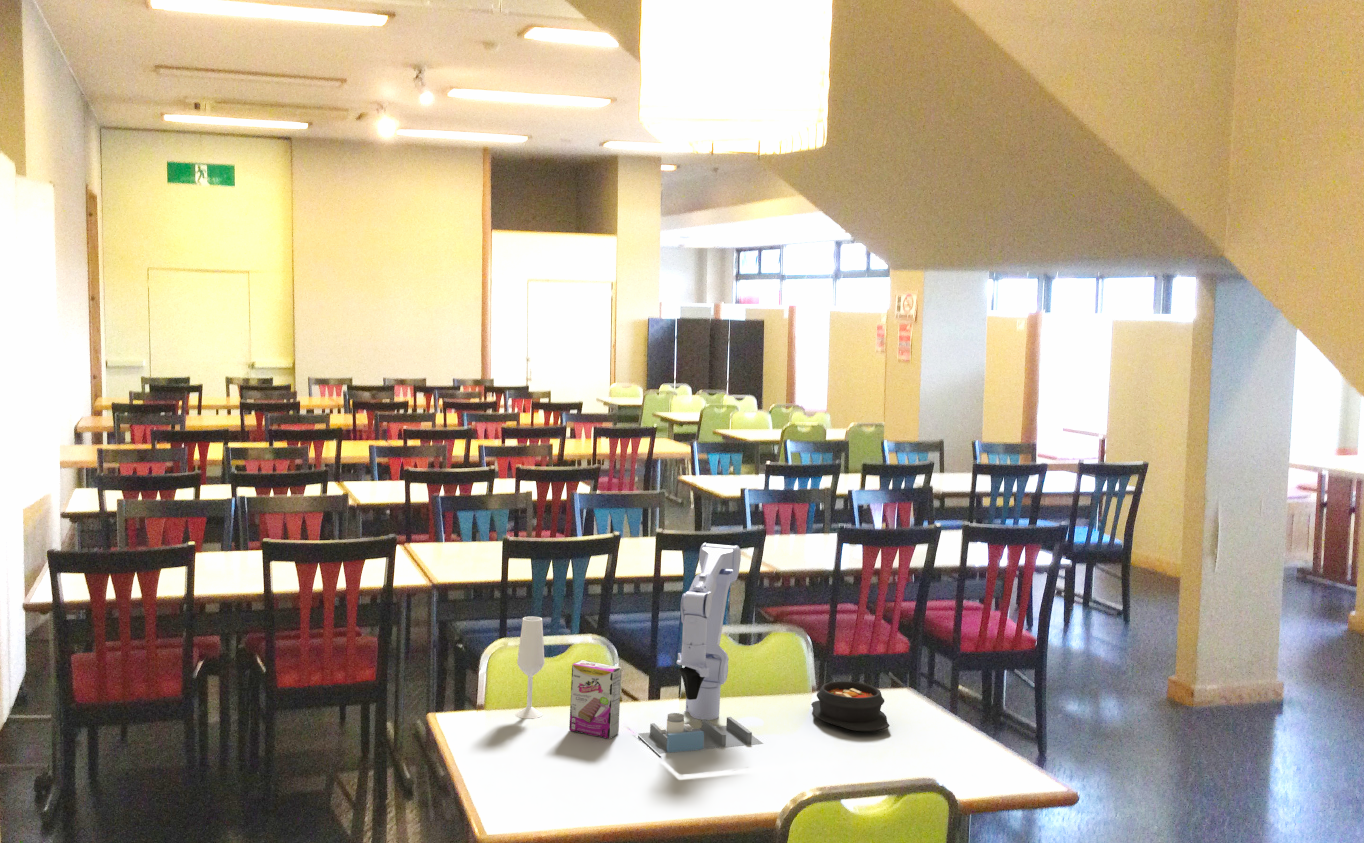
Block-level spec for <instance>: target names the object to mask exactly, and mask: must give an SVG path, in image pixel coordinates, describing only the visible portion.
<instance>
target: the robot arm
mask: <svg viewBox="0 0 1364 843" xmlns="http://www.w3.org/2000/svg"><path fill="white" fill-rule="evenodd" d="M741 552H742V551H741V548H740V546H739V545H737V544H736V545H730V544H729V545H728V544H719V543H718V544H717V543H707V542H704V543H702V544H701V546H700V548H699V555H698V558H699V559H698V560H699V561H698V562H699V565H700V573H698V574H696V575H695V577H694V579H692V583H691V585H690V586H689V589H688V591H686V592H684V593H682V596H681V600H680V615H681V617H680V618H681V619H680V622H681V623H682V633H681V635H682V639H681V652H678V653H677V660H676V664H677V665H678V666H682V667H679V668H678V672H679V673H680V676H681V678H682V682H683V688H684V692H685V696H686V697H685V710H682V713H684V712H688V713H689V714H690V717H692V718H693V719H696V720H697V719H698V720H701V721H702V719H706V720H708V721H712V720H716V719H718V718H719V717H720V709H721V708H720V707H721V687H722V685H724V684H725V683H726V682H727V680H728V674H729V660H730V659H729V655H728V653H727V652H726V651H725V649H723V648H722V647H721V645H720V644H721V640H722V639H721V638H722V633H723V632H722V631H723V626H724V625H723V624H724V618H725V611H726V605H727V598H728V593H729V590H730V586H731V583H733V582H735V581H737V580H738V577H739V574H740V567H741V560H742V558H741V557H742V556H741V555H742V553H741ZM683 666H684V667H683Z"/></svg>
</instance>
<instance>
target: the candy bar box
mask: <svg viewBox="0 0 1364 843" xmlns="http://www.w3.org/2000/svg"><path fill="white" fill-rule="evenodd" d="M621 681H622V667H620V666H616V665H610V664H605V663H599V662H595V661H590V660H583V659H580V660H579V661H576V662H574V663H573V664H571V681H570V683H571V685H570V686H571V687H570V707H569V708H570V709H569V731H570V732H575V733H580V734H584V735H589V736H594V737H599V738H604V739H607V738H608V739H609V738H610V739H612V738H613V737H615V736H617V735H618V734H619V728H620V709H621V706H620V704H621V683H622V682H621ZM611 737H612V738H611ZM610 739H609V740H610Z"/></svg>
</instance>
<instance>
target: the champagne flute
mask: <svg viewBox="0 0 1364 843" xmlns="http://www.w3.org/2000/svg"><path fill="white" fill-rule="evenodd" d="M516 661H517V662H516V663H517V666H518V668H519V670H521V672H522V673H524V675H526V676H527V694H526V697H527V698H526V707H524V708H522V709H521V710H518V711H516V712H515V716H516V717H517V718H521V719H530V720H531V719H537V718H540V717H542V716H543V712H541V711H539V710H538V709H536V708H535V707H534V706H533V705H532V704H533V684H534V683H533V678H534V676H535V675H537V674H538V673H539V672H540V671H541V670H542V669H543V667H544V665H545V647H544V627H543V618H542V617H540V616H524V617H522V622H521V630H520V639H519V644H518V652H517V660H516Z"/></svg>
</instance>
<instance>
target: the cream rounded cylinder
mask: <svg viewBox="0 0 1364 843" xmlns="http://www.w3.org/2000/svg"><path fill="white" fill-rule="evenodd" d="M684 724H685V715H684V714H683V713H680V712H679V713H678V712H671V713H667V718H666V734H671V733H682V732H684Z"/></svg>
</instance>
